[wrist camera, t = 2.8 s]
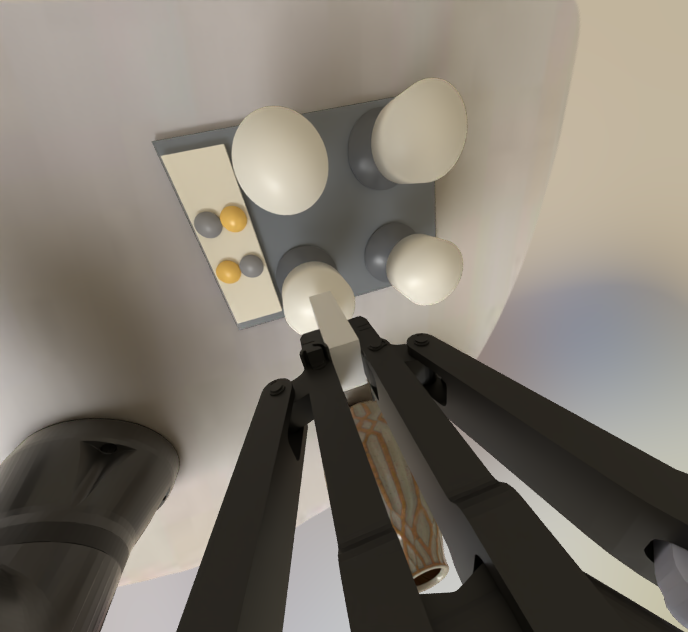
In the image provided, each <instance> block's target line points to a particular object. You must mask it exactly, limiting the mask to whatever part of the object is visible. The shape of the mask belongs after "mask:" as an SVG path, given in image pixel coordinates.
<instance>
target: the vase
mask: <svg viewBox="0 0 688 632" xmlns="http://www.w3.org/2000/svg"><path fill="white" fill-rule="evenodd" d="M349 408H350V411H351V414H352V417H353V419H354V422H355V425H356V428H357V430H358V433H359V436H360V439H361V441H362V444H363V447H364V450H365V452H366V455H367V458H368V461H369V463H370V466H371V469H372V472H373V474H374V477H375V480H376V483H377V485H378V488H379V491H380V494H381V496H382V499H383V502H384V504H385V507H386V510H387V513H388V515H389V518H390V521H391V523H392V526H393V528H394V529H395V531H396V534H397V536H398V538H399V541H400V544H401V546H402V549H403V551H404V554H405V557H406V560H407V562H408V565H409V568H410V570H411V573H412V576H413V579H414V581H415V584H416V587H417V589H418V592H419V593H420V592H422V591H425V590H427V589H429V588H431V587H433V586H434V585H436V584H437V583H439V582H440V581H441V580H442V579H443V578H444V577H445V576H446V575H447V573H448V571H449V566H448V564H447V562H446V559H445V556H444V549H443V539H442V533H441V531H440V529H439V527H438V525H437V523H436V521H435V519H434V517H433V515H432V513H431V511H430V509H429V507H428V505H427V503H426V501H425V499H424V497H423V495H422V493H421V491H420V489H419V487H418V485H417V483H416V481H415V479H414V477H413V475H412V473H411V471H410V469H409V467H408V465H407V463H406V460H405V458H404V456H403V454H402V452H401V450H400V448H399V446H398V444H397V442H396V440H395V438H394V436H393V434H392V432H391V430H390V428H389V426H388V424H387V422H386V420H385V418H384V416H383V414H382V412H381V410H380V408H379V406H378V404H377V402H376V401H374V402H373V401H363V402H359V403H356V404H354V405H352V406H350V407H349ZM324 476H325V474H324ZM325 482H326V479H325ZM326 486H327V484H326ZM327 490H328V489H327Z"/></svg>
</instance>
